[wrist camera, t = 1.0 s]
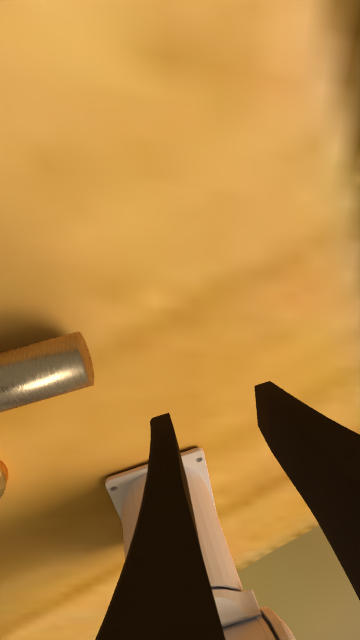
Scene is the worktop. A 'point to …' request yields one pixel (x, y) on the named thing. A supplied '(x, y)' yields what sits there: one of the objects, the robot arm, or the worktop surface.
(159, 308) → the worktop surface
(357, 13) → the worktop surface
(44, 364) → the shaft
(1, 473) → the spacer
